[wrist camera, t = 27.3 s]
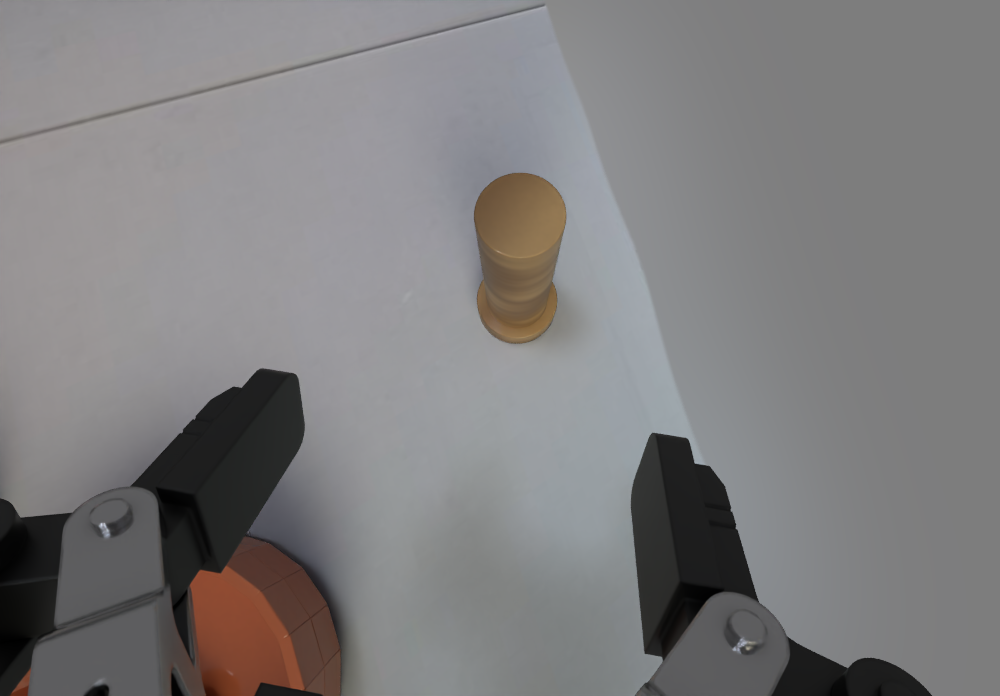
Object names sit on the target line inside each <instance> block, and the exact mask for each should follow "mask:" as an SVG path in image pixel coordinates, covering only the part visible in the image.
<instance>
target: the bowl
mask: <svg viewBox="0 0 1000 696" xmlns="http://www.w3.org/2000/svg"><path fill="white" fill-rule="evenodd" d="M190 587H191V590H192V597H193V606H194V615H195V624H196V632H197V641H198V650H199V659H200V668H201V675H202V681H203V685H204V690H205V693H206V696H254V695H255V693H256V691H257V689H258V687H259V685H260V682H262V683H267V684H272V685H278V686H283V687H288V688H293V689H298V690H303V691H309V692H314V693H319V694H322V695H323V696H340V683H341V649H340V646H339V642H338V639H337V635H336V632H335V628H334V625H333V622H332V618H331V615H330V611H329V608H328V605H327V603H326V601H325V600H324V598H323V597H322V595H321V594H320V592H319V591H318V589H317V588H316V586H315V585H314V584H313V582H312V581H311V579H310V578H309V576H308V575H307V573H306V572H305V570H304V569H303V568H302V567H301V566H300V565H298V564H297V563H296V562H294V561H293V560H291V559H290V558H289V557H287V556H286V555H285V554H283V553H282V552H281V551H279V550H278V549H277V548H275V547H274V546H272V545H271V544H269V543H267V542H263V541H260V540H257V539H253V538H250V537H247V536H244V538H243V539H242V541H241V543H240V544H239V546H238V547H237V549H236V551H235V552H234V554H233V555H232V557H231V559H230V560H229V562H228V563H227V565H226V566H225V568H224V570H223V571H222V573H221V574H220V573H215V572H209V571H204V570H199V572H198V573H197V575H196V576H195V578H194V579H193V581H192V582H191V584H190ZM30 672H31V668H30V670H29V671H28V672H27V674H26V675H25V676H24V678H23V679H22V680H21V681H20V683H19V684H18V685H17V687H16V688H15V689H14V691H13V692H12V693H11V695H10V696H28V689H29V680H30Z"/></svg>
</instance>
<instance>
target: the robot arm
mask: <svg viewBox="0 0 1000 696" xmlns="http://www.w3.org/2000/svg"><path fill="white" fill-rule="evenodd" d="M304 430H305V423H304V415H303V408H302V401H301V394H300V387H299V380H298V377H297V375H296V374H294V373H288V372H282V371H276V370H270V369H264V368H262V369H259V370H257V371H256V372H255V373H254V375H253V376H252V377H251V378H250V379H249V380H248V381H247V383H246V384H245V385H244V386H243V387H242V388H239V387H232V388H230V389H228V390H227V391H225V392H223V393H222V394H220V395H218V396H216V397H215V398H213V399H211V400H210V401H209V402H208V403H207V405H206V406H205V407H204V408H203V409H202V410H201V411H200V412H199V413H198V414H197V415H196V419H195V420H192V421H191V422H190V423H189V424H188V425H187V426H186V427H185V428H184V429H183V433H180V434H179V435H178V436H177V437H176V438H175V439H174V440H173V441H172V442H171V443H170V444H169V446H168V447H167V448H166V449H165V450H164V451H163V452H162V453H161V454H160V455H159V456H158V457H157V459H156V460H155V461H154V462H153V463H152V464H151V465H150V466H149V467H148V468H147V469H146V470H145V471H144V473H143V474H142V475H141V476H140V477H139V478H138V479H137V480H136V481H135V482H134V483H133V484H132V485H131V486H130V487H121V488H116V489H112V490H109V491H106V492H103V493H101V494H98V495H96V496H94V497H92V498H91V499H89V500H87V501H86V502H84V503H83V504H82V505H80V506H79V507H78V508H77V509H76V510H75V511H74V512H73V513H65V514H55V515H44V516H34V517H24V518H20V516H19V515H18V513H17V511H16V510H15V508H14V506H13V505H12V504H11V503H10V502H8V501H6V500H4V499H0V696H10V695H11V693H12V692H13V691H14V689H15V688H16V687H17V685H18V684H19V683H20V681H21V680H22V679H23V678H24V676H25V675H26V674H27V672H28V671H29V670H30V668H31V672H30V680H29V689H28V696H206V693H205V690H204V685H203V681H202V675H201V668H200V659H199V650H198V641H197V632H196V624H195V615H194V606H193V597H192V590H191V587H190V584H191V582H192V581H193V579H194V578H195V576H196V575H197V573H198V572H199V570H204V571H209V572H215V573H220V574H221V573H222V571H223V570H224V568H225V566H226V565H227V563H228V562H229V560H230V559H231V557H232V555H233V554H234V552H235V551H236V549H237V547H238V546H239V544H240V543H241V541H242V539H243V538H244V536H245V535H246V533H247V531H248V530H249V528H250V527H251V525H252V524H253V522H254V520H255V519H256V517H257V516H258V514H259V512H260V511H261V509H262V508H263V506H264V504H265V503H266V501H267V500H268V498H269V497H270V495H271V493H272V492H273V490H274V489H275V487H276V485H277V484H278V482H279V481H280V479H281V477H282V476H283V474H284V473H285V471H286V469H287V468H288V466H289V465H290V463H291V462H292V460H293V458H294V457H295V455H296V454H297V452H298V450H299V448H300V446H301V443H302V440H303V436H304ZM730 509H731V506H730V502H729V499H728V496H727V492H726V489H725V486H724V484H723V483H722V482H721V481H720V479H719V478H718V477H717V475H716V474H715V473H714V471H713V470H712V469H711V467H710V466H706V465H700V464H695V463H694V459H693V455H692V450H691V446H690V443H689V440H688V439H687V438H682V437H676V436H670V435H664V434H658V433H652V434H651V435H650V437H649V439H648V442H647V444H646V447H645V450H644V453H643V456H642V459H641V462H640V465H639V467H638V470H637V473H636V476H635V479H634V483H633V487H632V494H631V513H632V524H633V535H634V545H635V556H636V566H637V577H638V588H639V598H640V609H641V620H642V630H643V641H644V651H645V654H650V655H655V656H661V657H663V662H662V664H661V665H660V667H659V668H658V669H657V671H656V672H655V674H654V675H653V676H652V678H651V679H650V680H649V681H648V683H645V684H644V685H643V686H642V687H641V688H640V690H639V691H638V692H637V694H636V695H635V696H932V695H931V694H930V693H929V692H928V691H927V689H926V688H925V687H924V686H923V685H922V684H921V683H920V682H918V681H917V680H916V679H915V678H914V677H913V676H911V675H910V674H908V673H907V672H906V671H904V670H902V669H901V668H899V667H897V666H896V665H893V664H891V663H889V662H886V661H883V660H880V659H875V658H863V659H859V660H857V661H855V662H854V663H852V665H851V666H850V667H849V668H846V667H844V666H842V665H839V664H838V663H836V662H834V661H832V660H830V659H827V658H825V657H823V656H821V655H819V654H817V653H815V652H813V651H811V650H809V649H807V648H805V647H803V646H801V645H799V644H797V643H796V642H794V641H793V640H791V639H790V638H789V637H787V636H786V633H785V631H784V629H783V627H782V626H781V624H780V622H779V621H778V620H777V619H776V617H775V616H774V615H773V614H772V613H771V612H770V611H769V610H768V609H767V608H765V607H764V606H763V605H762V604H760V603H759V601H758V598H757V595H756V592H755V589H754V585H753V582H752V578H751V575H750V571H749V568H748V564H747V561H746V558H745V554H744V551H743V547H742V544H741V540H740V537H739V534H738V530H737V529H736V523H735V520H734V516H733V513H732V512H731V510H730ZM254 696H323V695H322V694H319V693H314V692H309V691H303V690H298V689H293V688H288V687H283V686H278V685H272V684H267V683H262V682H260V685H259V687H258V689H257V691H256V693H255V695H254Z"/></svg>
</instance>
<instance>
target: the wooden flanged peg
mask: <svg viewBox="0 0 1000 696" xmlns="http://www.w3.org/2000/svg"><path fill="white" fill-rule="evenodd" d="M474 222H475V228H476V234H477V241H478V247H479V254H480V260H481V266H482V273H483V281H482V282H481V284H480V287H479V290H478V294H477V305H478V311H479V315H480V318H481V321H482V323H483V325H484V326H485V328H486V329H487V330H488V331H489V332H490V333H491V334H492V335H493V336H494V337H496V338H498V339H499V340H502V341H504V342H508V343H515V344H516V343H526V342H529V341H532V340H534V339H536V338H538V337H539V336H541V335H542V334H543V333H544V332H545V331H546V330H547V329H548V327H549V326H550V324H551V322H552V320H553V317H554V314H555V311H556V307H557V293H556V289H555V286H554V284H553V282H552V279H553V275H554V271H555V267H556V262H557V258H558V254H559V249H560V245H561V241H562V236H563V232H564V228H565V224H566V208H565V204H564V201H563V199H562V197H561V195H560V194H559V192H558V191H557V189H556V188H555V187H554V186H553V185H552V184H550V183H549V182H548V181H546V180H545V179H543V178H541V177H539V176H536V175H533V174H528V173H513V174H508V175H504V176H502V177H499V178H498V179H496V180H494V181H493V182H491V183H490V184H489V185H488V186H487V187H486V188H485V189H484V190H483V191H482V193H481V194H480V196H479V198H478V200H477V202H476V206H475V210H474Z"/></svg>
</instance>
